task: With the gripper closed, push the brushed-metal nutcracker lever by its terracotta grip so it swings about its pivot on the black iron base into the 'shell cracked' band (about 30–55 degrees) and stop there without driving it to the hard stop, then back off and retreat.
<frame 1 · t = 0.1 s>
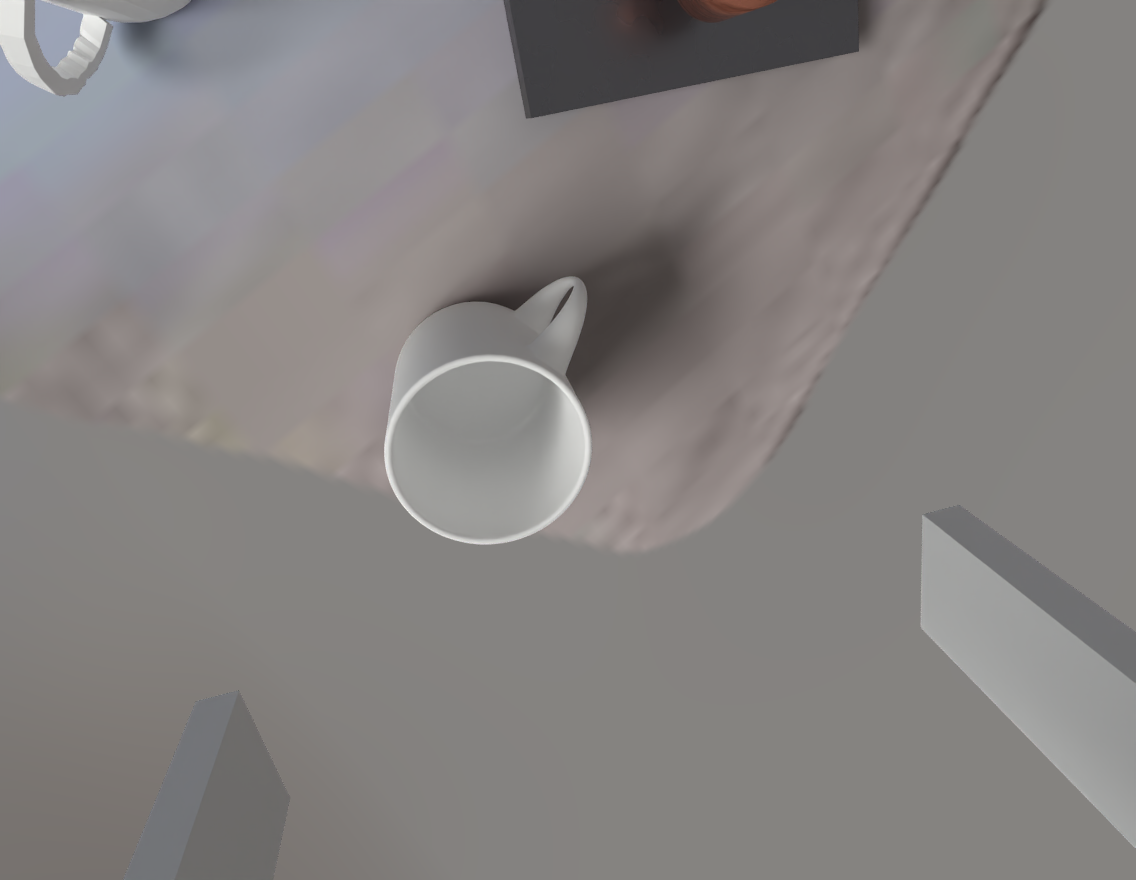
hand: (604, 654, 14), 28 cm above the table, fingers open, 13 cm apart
mug: (495, 350, 41), on the table
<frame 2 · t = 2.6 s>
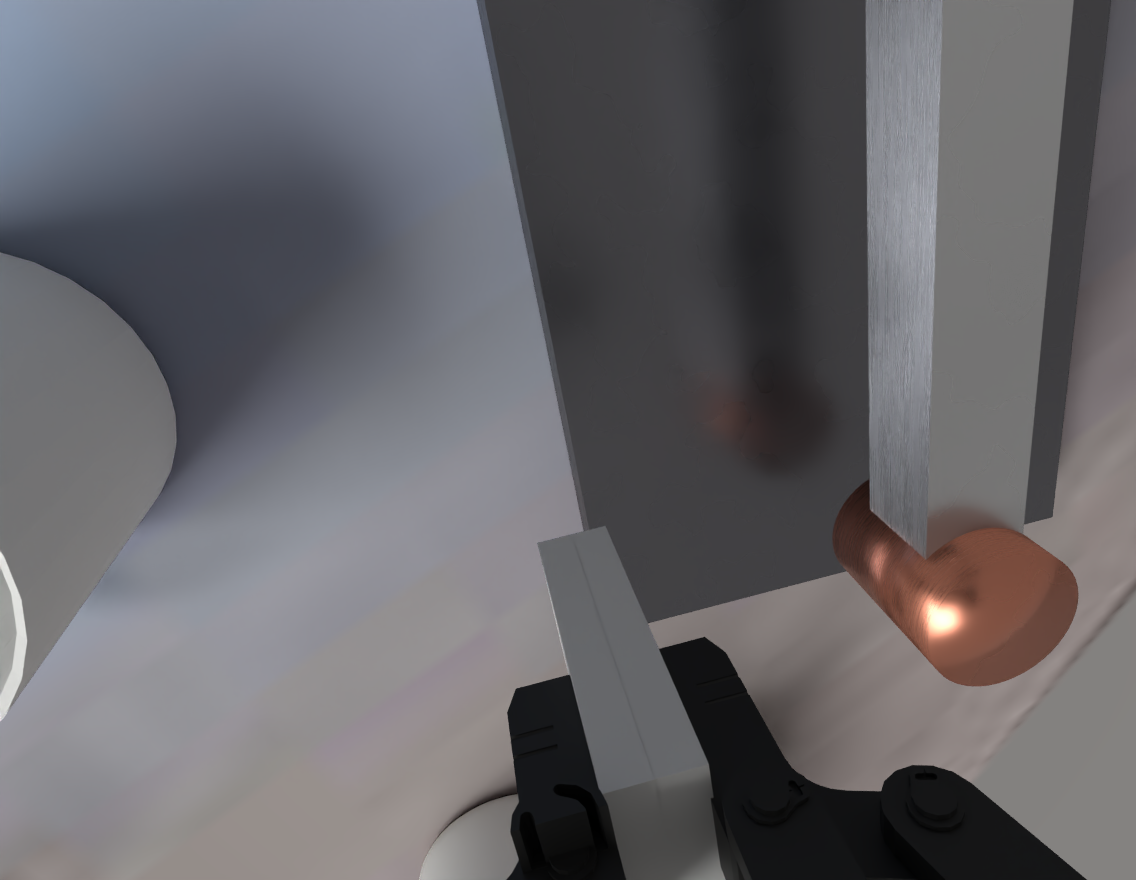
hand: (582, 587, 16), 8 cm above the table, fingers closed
mug: (545, 829, 31), on the table
press base: (791, 171, 22), on the table
lever: (965, 24, 14), point 8 cm above the table, hinge at 0.0°
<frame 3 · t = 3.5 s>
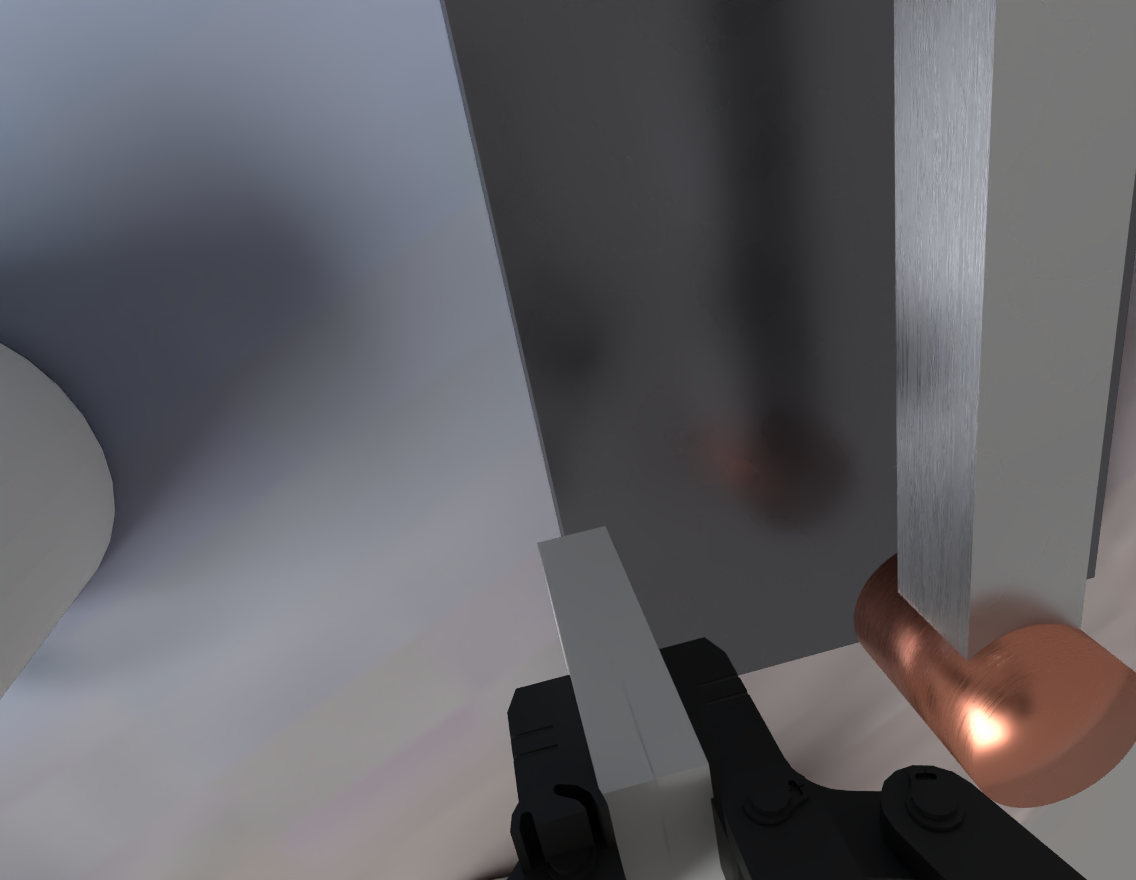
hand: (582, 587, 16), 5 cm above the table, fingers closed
press base: (801, 203, 19), on the table
lever: (1017, 41, 11), point 8 cm above the table, hinge at 0.0°
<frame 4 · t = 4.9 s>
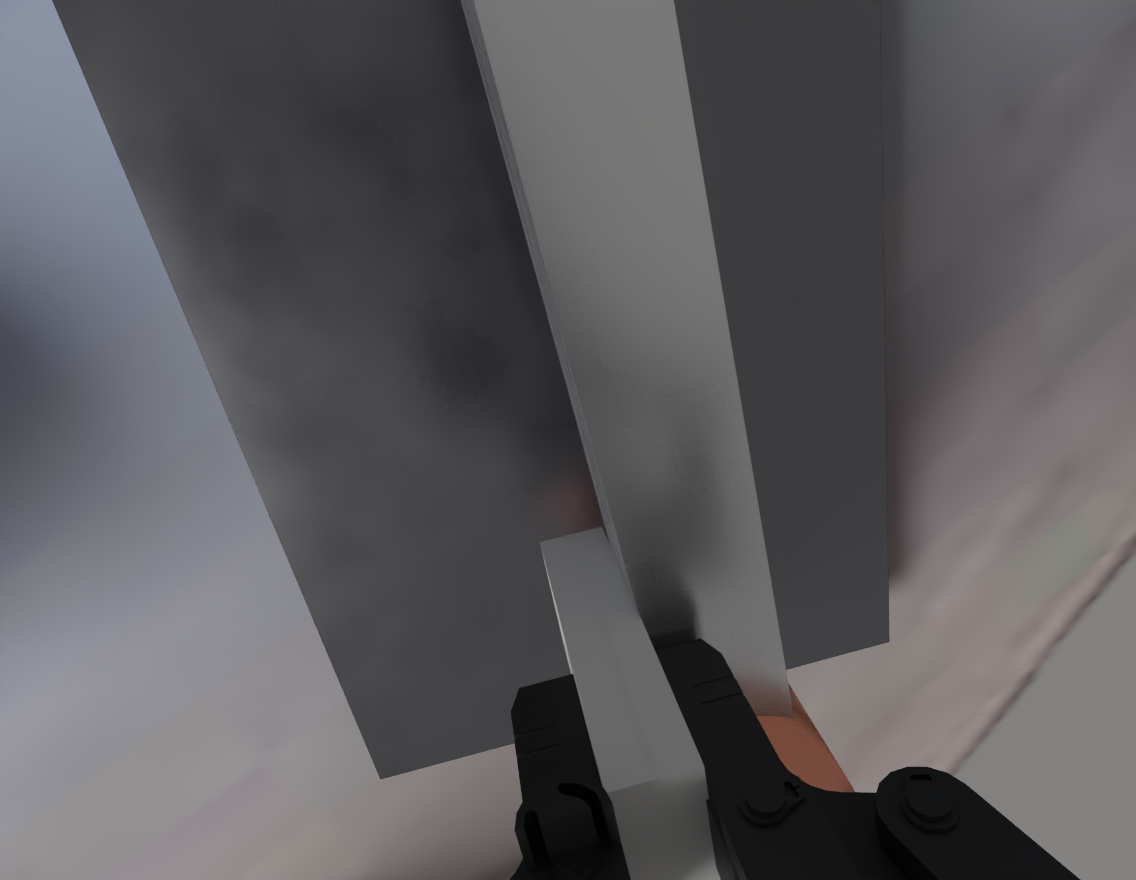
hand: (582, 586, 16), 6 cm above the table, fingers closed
press base: (545, 275, 19), on the table
lever: (595, 160, 11), point 8 cm above the table, hinge at 3.4°, touching gripper
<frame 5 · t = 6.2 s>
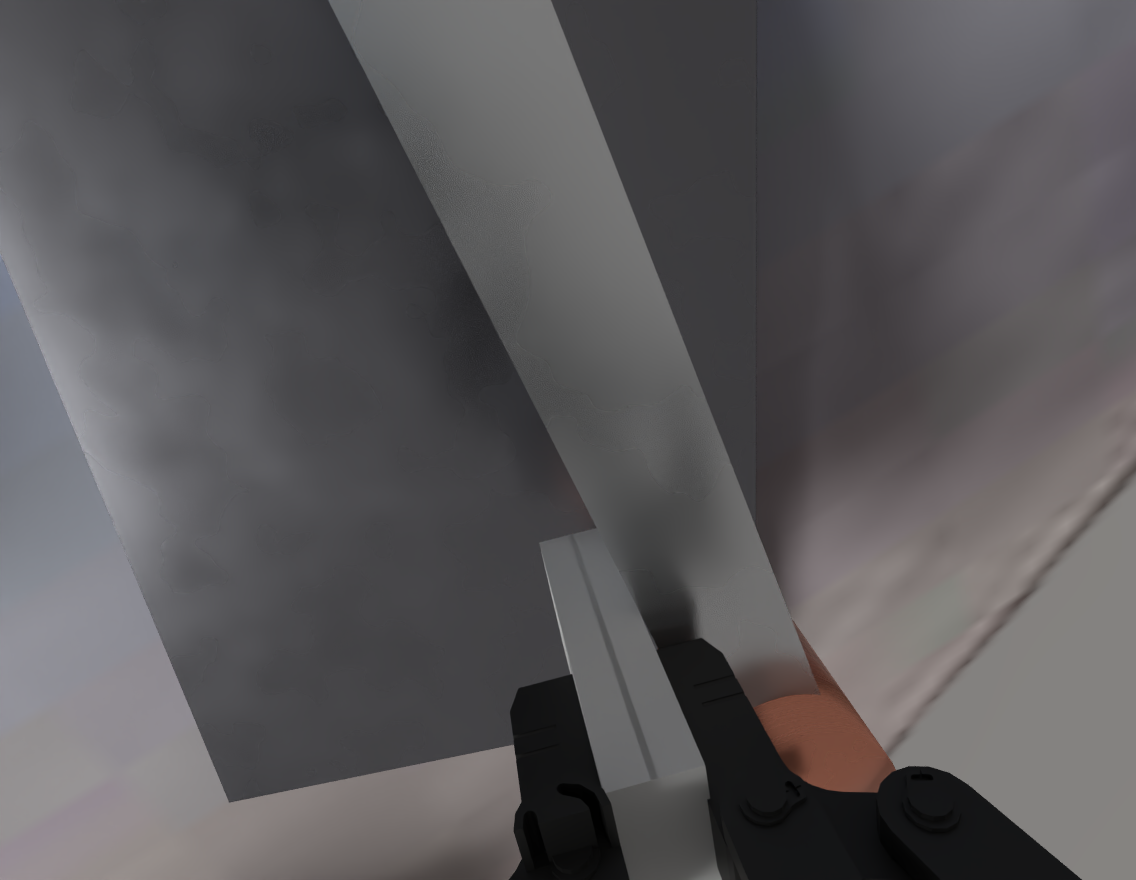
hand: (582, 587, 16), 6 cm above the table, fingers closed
press base: (423, 310, 19), on the table
lever: (519, 186, 11), point 8 cm above the table, hinge at 18.1°, touching gripper
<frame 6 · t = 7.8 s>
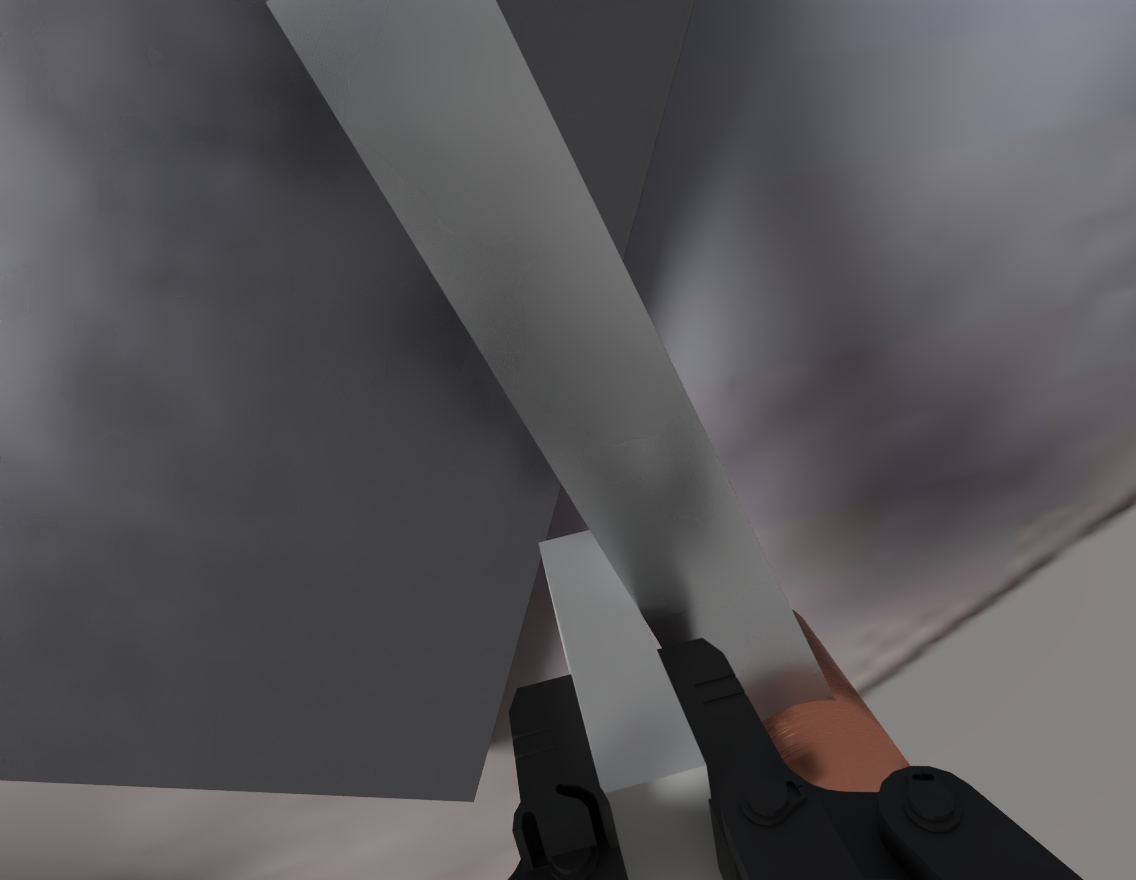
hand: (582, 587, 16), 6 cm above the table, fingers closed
press base: (259, 341, 19), on the table
lever: (511, 236, 11), point 8 cm above the table, hinge at 42.2°, touching gripper
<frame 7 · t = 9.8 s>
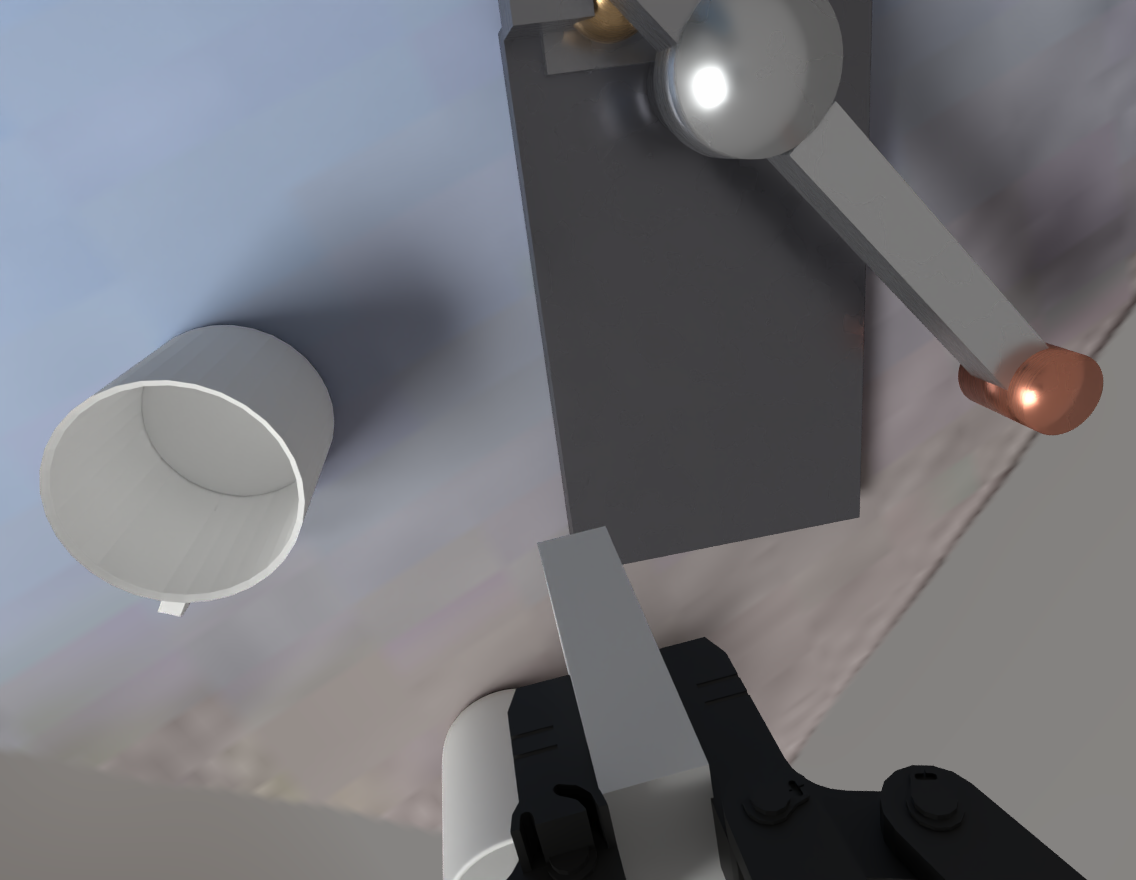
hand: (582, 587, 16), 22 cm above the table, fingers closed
mug 2: (228, 439, 37), on the table
mug: (530, 719, 46), on the table
press base: (695, 303, 38), on the table
lever: (862, 199, 30), point 8 cm above the table, hinge at 42.0°
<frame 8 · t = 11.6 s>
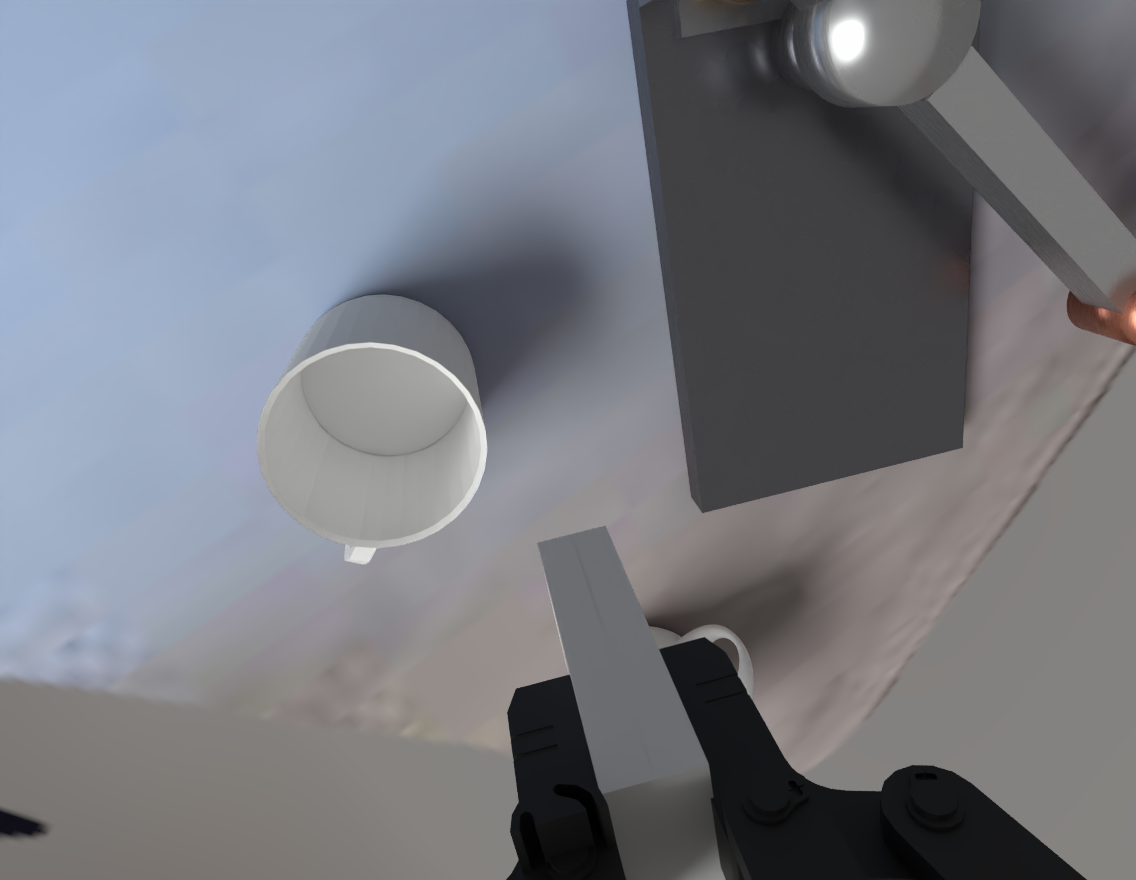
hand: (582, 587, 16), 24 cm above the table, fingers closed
mug 2: (377, 403, 39), on the table
mug: (650, 655, 49), on the table
press base: (807, 250, 40), on the table
lever: (989, 138, 31), point 8 cm above the table, hinge at 42.0°
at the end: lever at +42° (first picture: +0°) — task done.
